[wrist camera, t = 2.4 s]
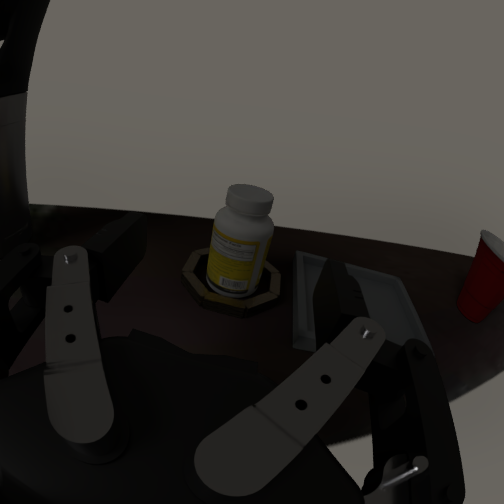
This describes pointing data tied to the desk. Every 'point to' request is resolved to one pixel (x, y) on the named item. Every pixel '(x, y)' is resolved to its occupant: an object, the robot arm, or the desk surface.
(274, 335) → the desk surface
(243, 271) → the supplement bottle
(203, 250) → the ring collar
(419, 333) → the tray
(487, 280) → the plastic cup
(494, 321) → the desk surface
